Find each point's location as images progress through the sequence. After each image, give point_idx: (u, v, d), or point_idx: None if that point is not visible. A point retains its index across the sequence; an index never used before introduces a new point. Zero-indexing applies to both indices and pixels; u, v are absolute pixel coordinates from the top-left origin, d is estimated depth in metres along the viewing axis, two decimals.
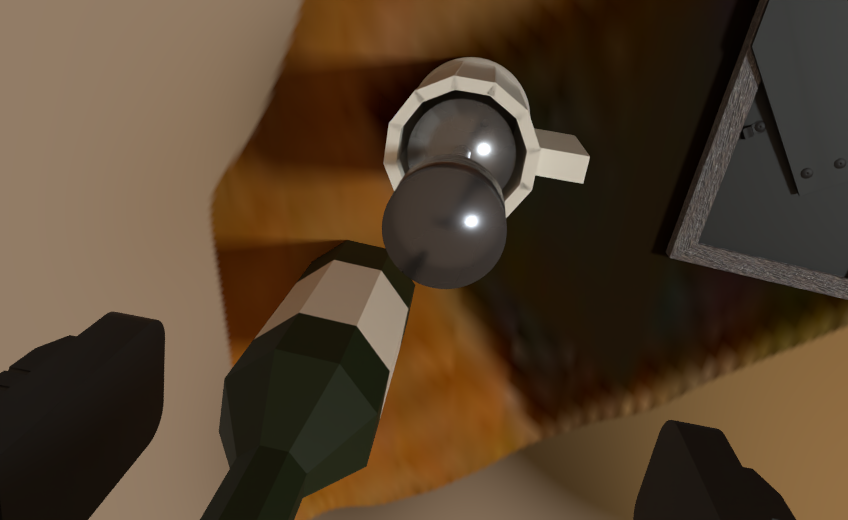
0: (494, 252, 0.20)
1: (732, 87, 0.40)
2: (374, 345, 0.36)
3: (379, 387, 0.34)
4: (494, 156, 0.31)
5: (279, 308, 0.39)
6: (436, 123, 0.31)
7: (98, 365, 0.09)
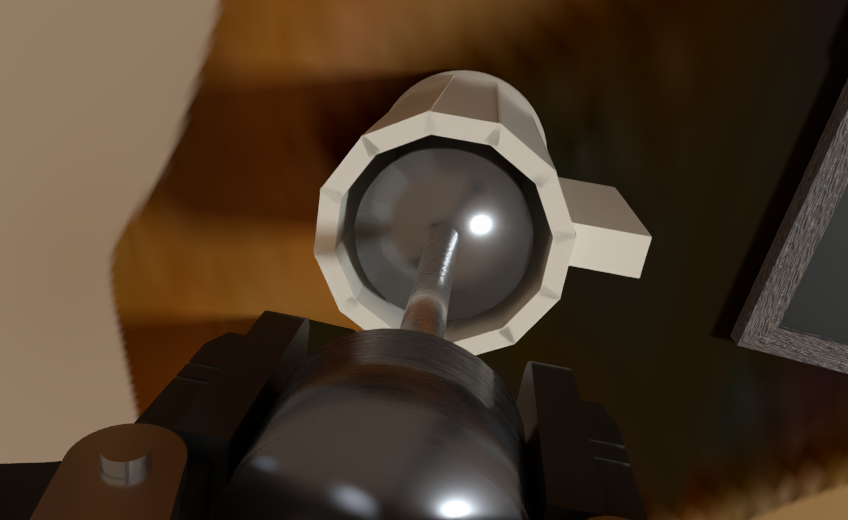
0: None
1: (843, 112, 0.27)
2: None
3: None
4: (497, 241, 0.19)
5: None
6: (401, 188, 0.18)
7: (276, 359, 0.09)
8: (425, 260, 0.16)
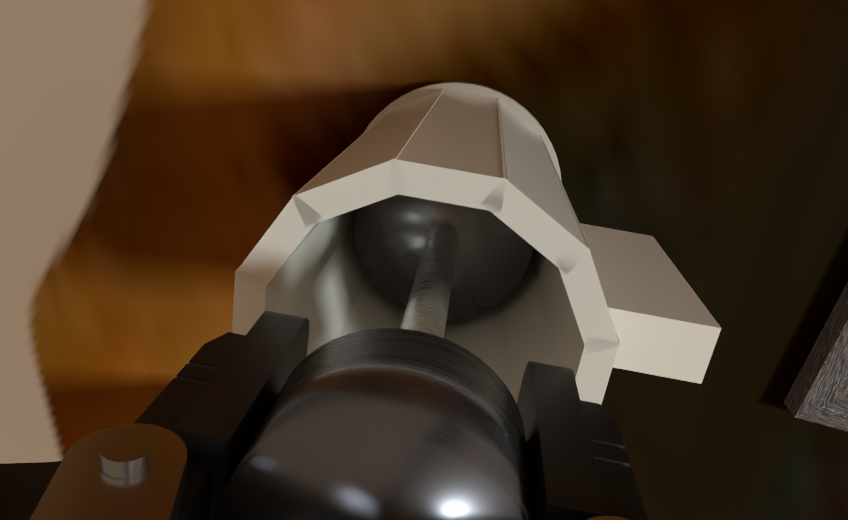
0: None
1: None
2: None
3: None
4: (498, 240, 0.19)
5: None
6: None
7: (276, 359, 0.09)
8: (425, 259, 0.16)
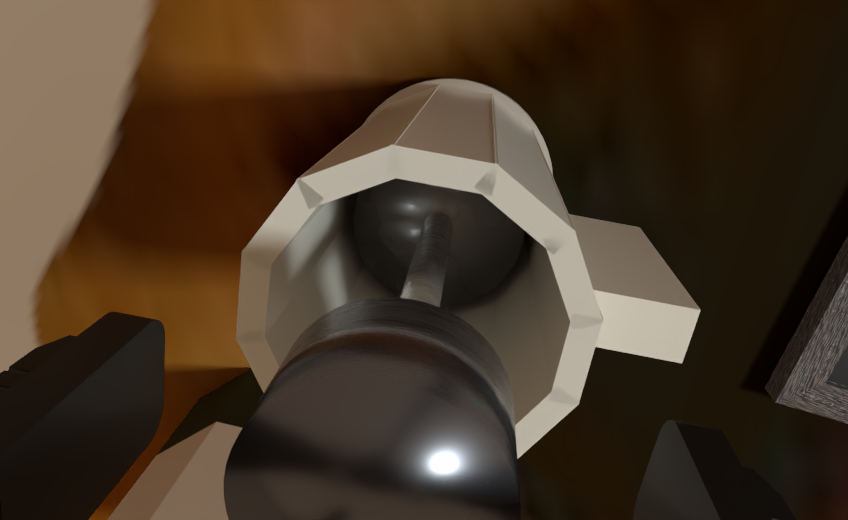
0: None
1: None
2: None
3: None
4: (490, 230, 0.20)
5: None
6: None
7: (98, 365, 0.09)
8: (421, 245, 0.17)
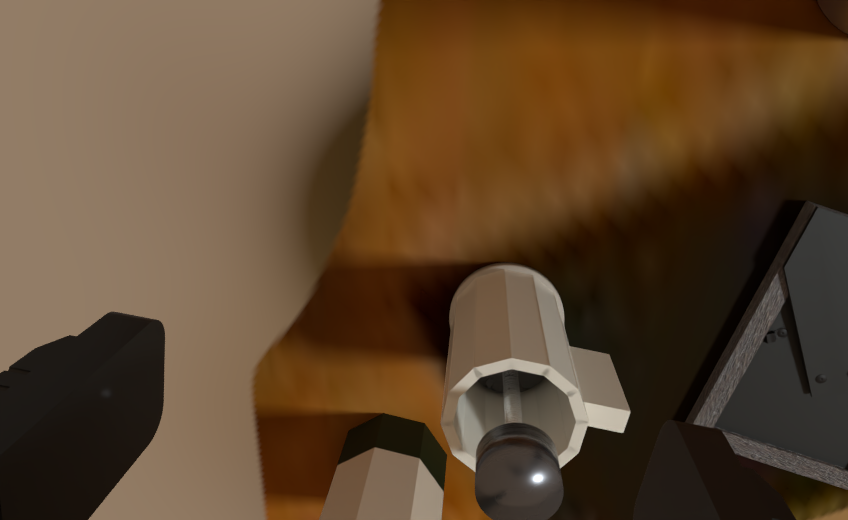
0: (553, 506, 0.28)
1: (761, 298, 0.42)
2: None
3: None
4: None
5: (326, 508, 0.41)
6: None
7: (98, 365, 0.09)
8: (507, 374, 0.37)
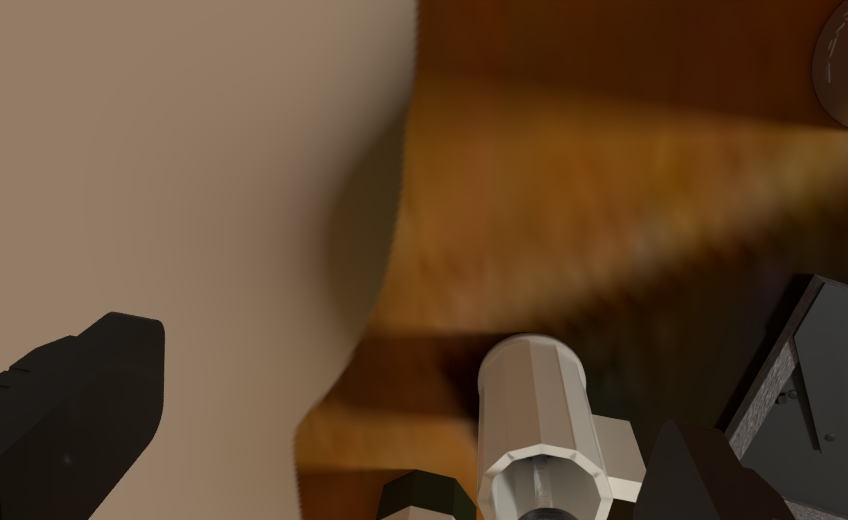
0: None
1: (772, 363, 0.45)
2: None
3: None
4: None
5: None
6: None
7: (98, 365, 0.09)
8: None
